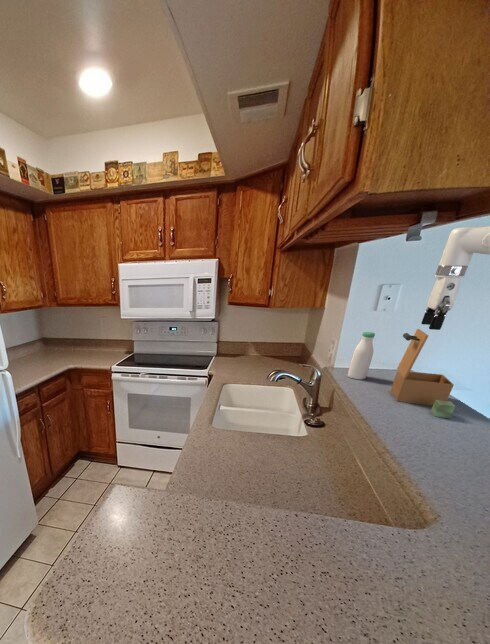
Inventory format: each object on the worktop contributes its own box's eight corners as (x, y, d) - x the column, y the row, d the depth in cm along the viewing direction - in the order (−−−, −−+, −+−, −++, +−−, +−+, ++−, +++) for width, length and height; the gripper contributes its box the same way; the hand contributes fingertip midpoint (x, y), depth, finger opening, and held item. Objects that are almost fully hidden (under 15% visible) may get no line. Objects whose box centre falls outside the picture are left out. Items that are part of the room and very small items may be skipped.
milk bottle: (367, 380, 147) (380, 335, 137) (348, 378, 149) (360, 333, 140) (364, 375, 153) (377, 331, 143) (346, 373, 155) (358, 330, 146)
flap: (419, 329, 123) (404, 326, 125) (428, 335, 113) (412, 332, 115) (399, 369, 132) (384, 366, 133) (406, 378, 122) (390, 375, 123)
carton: (434, 395, 131) (442, 374, 127) (444, 406, 121) (453, 384, 117) (390, 390, 136) (397, 370, 132) (396, 400, 126) (404, 379, 122)
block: (445, 413, 116) (451, 401, 114) (450, 418, 112) (455, 406, 110) (430, 411, 118) (435, 399, 115) (434, 416, 114) (439, 404, 112)
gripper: (475, 273, 97) (451, 332, 106) (455, 271, 111) (435, 323, 120) (445, 273, 100) (423, 330, 108) (429, 271, 114) (411, 322, 122)
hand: (430, 326), depth 114 cm, fingers open, 9 cm apart
